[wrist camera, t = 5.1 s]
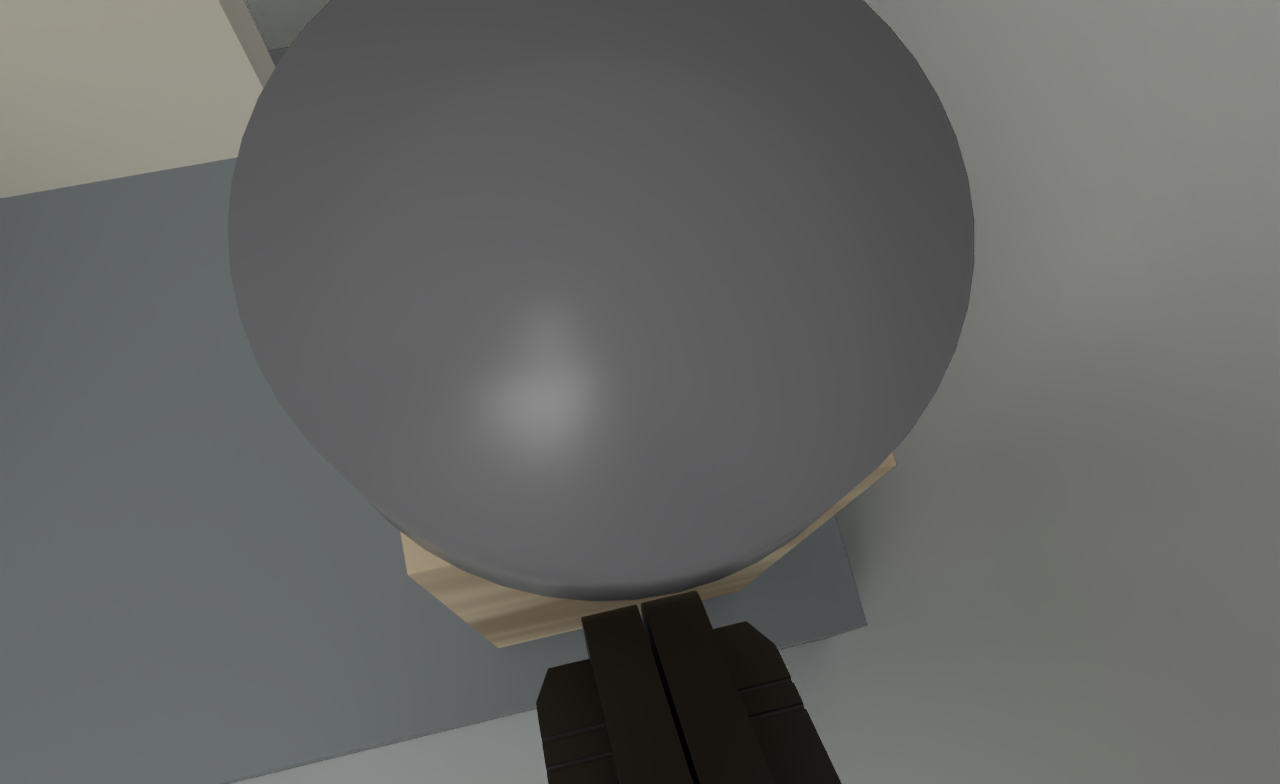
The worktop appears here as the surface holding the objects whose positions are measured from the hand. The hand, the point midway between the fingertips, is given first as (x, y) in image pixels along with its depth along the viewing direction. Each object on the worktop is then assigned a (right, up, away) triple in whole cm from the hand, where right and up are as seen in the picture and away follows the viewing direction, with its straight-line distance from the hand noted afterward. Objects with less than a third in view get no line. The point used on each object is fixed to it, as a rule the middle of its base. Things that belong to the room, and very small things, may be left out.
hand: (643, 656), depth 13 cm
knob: (-1, +1, +4) cm, 5 cm away
